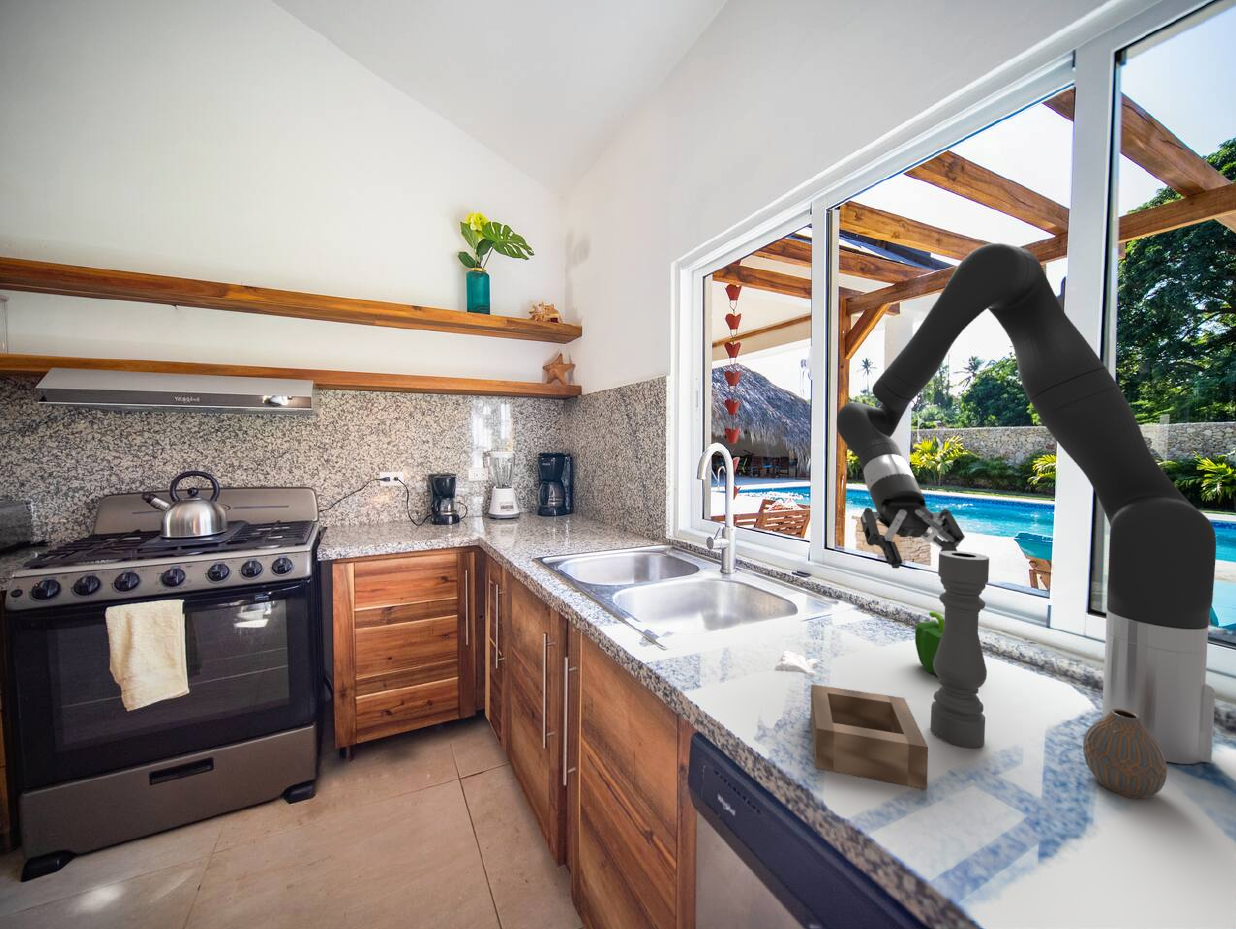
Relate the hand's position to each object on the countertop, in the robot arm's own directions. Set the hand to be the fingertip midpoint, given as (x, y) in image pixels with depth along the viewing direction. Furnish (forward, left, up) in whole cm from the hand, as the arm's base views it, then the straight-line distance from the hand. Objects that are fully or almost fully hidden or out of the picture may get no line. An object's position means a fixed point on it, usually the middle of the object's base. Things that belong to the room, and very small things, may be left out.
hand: (926, 566), depth 77 cm
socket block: (+11, +16, -21) cm, 29 cm away
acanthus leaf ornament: (+18, -8, -22) cm, 29 cm away
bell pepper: (-6, -14, -22) cm, 26 cm away
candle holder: (-2, +8, -22) cm, 23 cm away
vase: (-17, +14, -22) cm, 31 cm away
